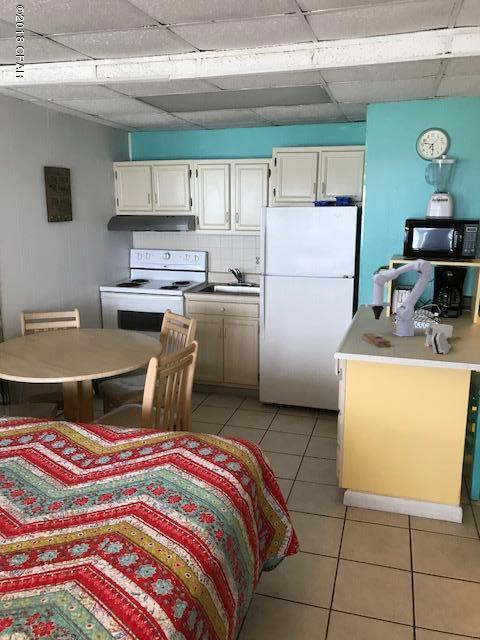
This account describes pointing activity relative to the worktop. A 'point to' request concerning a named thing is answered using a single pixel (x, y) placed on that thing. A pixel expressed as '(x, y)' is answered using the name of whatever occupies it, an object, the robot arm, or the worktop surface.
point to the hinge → (440, 343)
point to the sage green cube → (378, 336)
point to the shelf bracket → (437, 331)
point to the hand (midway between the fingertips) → (377, 319)
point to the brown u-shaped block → (376, 340)
